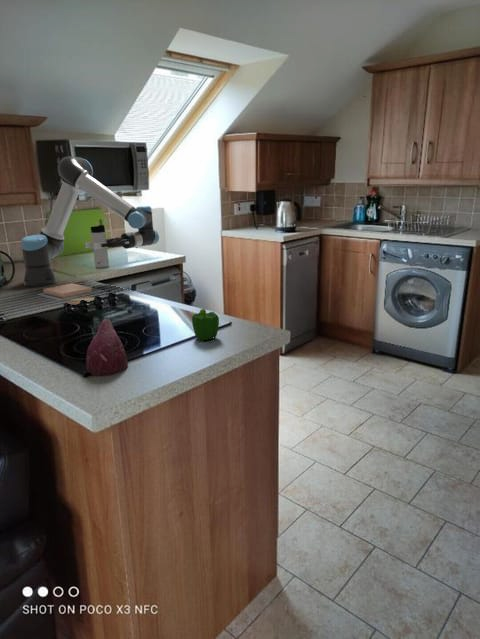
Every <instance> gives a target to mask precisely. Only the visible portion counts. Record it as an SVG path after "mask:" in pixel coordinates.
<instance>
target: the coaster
mask: <svg viewBox="0 0 480 639" xmlns="http://www.w3.org/2000/svg"><path fill="white" fill-rule="evenodd" d="M94 298H95V297H91V296H89V297H87V296H86V297H83V296H82V297H74V298H70V299H69V300H67V301H66V302H65V304H66V303H68V304H71V305H70V306H72V305H77V304H79V303H80V301H81V300H85V301H87V302H90V301H93V300H94Z"/></svg>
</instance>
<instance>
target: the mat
mask: <svg viewBox="0 0 480 639" xmlns="http://www.w3.org/2000/svg"><path fill="white" fill-rule="evenodd" d="M91 289H92V292H90V293H85V294H80V295H76V296H71V297H66V298H61V297H57V296H53V295H49V294H45V293H44V292H40V293H36V295H38V296H42V297H44V298H45V297H46V298H49V299H51V300H57V301H63V300H67V299H69V300H70V299H74V298H79V297H83V296H86V295H92V294H96V293H100V292H105V290H104V289H100V288H95V287H91Z"/></svg>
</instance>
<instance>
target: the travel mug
mask: <svg viewBox="0 0 480 639" xmlns="http://www.w3.org/2000/svg"><path fill="white" fill-rule="evenodd" d="M90 234H91V235H90V236H91V242H92V244H93V248H92V249H93V259H94V268H95V269H96V270H105V269H106V270H107V269H109V268H110V262H109V254H108V247H107V248H102V249H94V243H100V242H106V239H107V238H106V236H107V235H106V229H105V225H103V224H99V225H95V226H94V225H93V226H90Z"/></svg>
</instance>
